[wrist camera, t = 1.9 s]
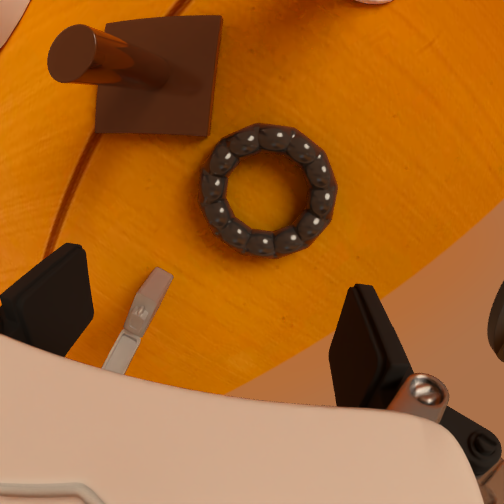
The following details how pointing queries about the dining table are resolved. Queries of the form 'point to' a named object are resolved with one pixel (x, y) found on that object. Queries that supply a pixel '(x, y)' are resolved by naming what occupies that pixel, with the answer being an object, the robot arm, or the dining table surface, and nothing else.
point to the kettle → (10, 16)
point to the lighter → (138, 320)
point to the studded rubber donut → (272, 142)
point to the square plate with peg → (145, 72)
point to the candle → (374, 1)
